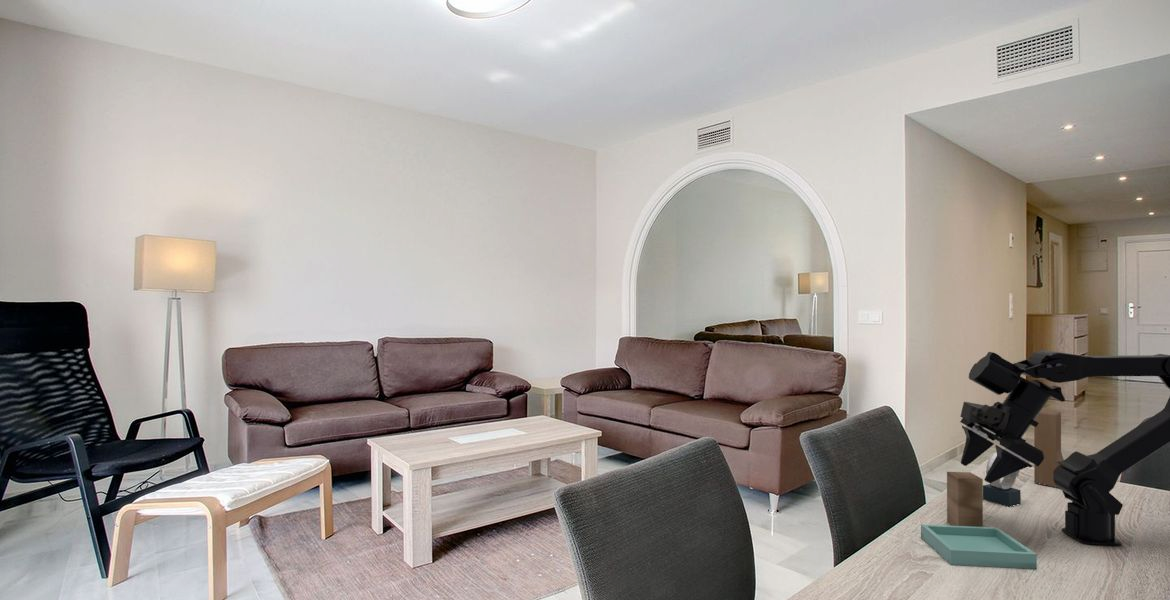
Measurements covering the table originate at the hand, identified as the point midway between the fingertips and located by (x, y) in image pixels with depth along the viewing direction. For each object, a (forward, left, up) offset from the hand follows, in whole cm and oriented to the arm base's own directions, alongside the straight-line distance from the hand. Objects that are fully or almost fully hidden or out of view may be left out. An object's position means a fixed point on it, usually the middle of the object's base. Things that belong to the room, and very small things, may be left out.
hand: (974, 472), depth 116 cm
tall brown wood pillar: (+2, 0, -11) cm, 11 cm away
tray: (+6, +12, -11) cm, 17 cm away
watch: (-14, -17, -11) cm, 25 cm away
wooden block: (-34, -30, -11) cm, 47 cm away
